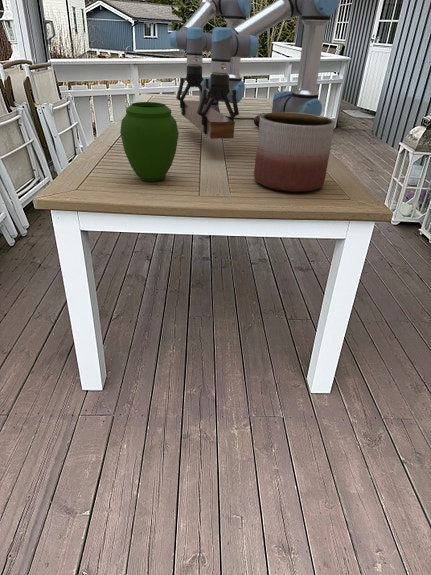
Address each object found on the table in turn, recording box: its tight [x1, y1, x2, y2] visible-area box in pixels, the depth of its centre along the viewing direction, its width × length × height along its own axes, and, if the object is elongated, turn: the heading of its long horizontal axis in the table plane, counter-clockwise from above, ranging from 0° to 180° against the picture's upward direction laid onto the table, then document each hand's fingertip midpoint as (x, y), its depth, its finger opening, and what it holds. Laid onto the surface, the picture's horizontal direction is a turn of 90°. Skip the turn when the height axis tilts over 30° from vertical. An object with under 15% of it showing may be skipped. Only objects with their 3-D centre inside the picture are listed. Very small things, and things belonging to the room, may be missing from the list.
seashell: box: [252, 112, 266, 128], centre depth 231 cm, size 10×6×8 cm, turn 97°
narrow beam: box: [180, 100, 236, 140], centre depth 188 cm, size 57×10×6 cm, turn 16°
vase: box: [119, 101, 179, 182], centre depth 140 cm, size 20×20×24 cm
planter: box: [253, 111, 336, 193], centre depth 143 cm, size 25×25×22 cm
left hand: (193, 115), depth 206 cm, fingers closed on narrow beam, 10 cm apart
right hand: (217, 133), depth 172 cm, fingers closed on narrow beam, 10 cm apart
